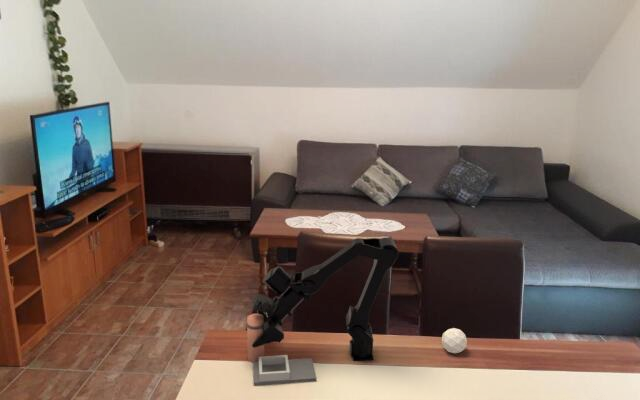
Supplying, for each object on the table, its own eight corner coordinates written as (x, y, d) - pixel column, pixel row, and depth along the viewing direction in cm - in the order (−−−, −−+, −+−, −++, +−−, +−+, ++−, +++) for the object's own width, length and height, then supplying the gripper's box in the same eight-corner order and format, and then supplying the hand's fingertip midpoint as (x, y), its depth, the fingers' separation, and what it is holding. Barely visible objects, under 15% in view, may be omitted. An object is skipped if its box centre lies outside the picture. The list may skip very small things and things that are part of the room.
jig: (311, 361, 156) (312, 351, 155) (316, 381, 146) (316, 370, 145) (253, 364, 153) (252, 354, 152) (253, 385, 144) (253, 375, 143)
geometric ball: (454, 355, 165) (466, 334, 166) (461, 360, 157) (474, 338, 158) (434, 342, 166) (446, 321, 166) (441, 347, 158) (454, 325, 158)
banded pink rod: (264, 352, 160) (263, 313, 156) (264, 362, 155) (264, 321, 151) (247, 353, 159) (246, 313, 155) (247, 363, 154) (246, 322, 150)
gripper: (264, 274, 160) (229, 308, 160) (272, 301, 142) (234, 340, 143) (288, 294, 164) (255, 328, 164) (299, 323, 146) (262, 361, 147)
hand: (251, 338), depth 154 cm, fingers open, 9 cm apart
